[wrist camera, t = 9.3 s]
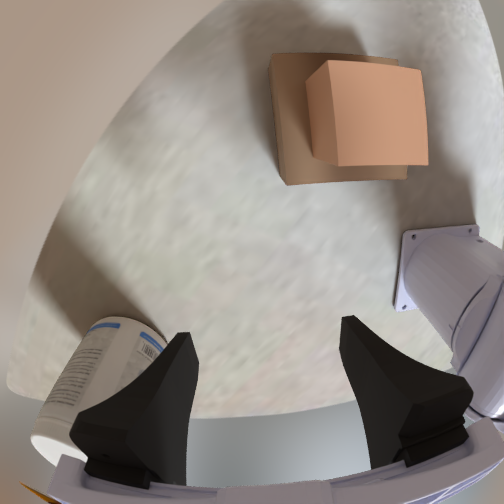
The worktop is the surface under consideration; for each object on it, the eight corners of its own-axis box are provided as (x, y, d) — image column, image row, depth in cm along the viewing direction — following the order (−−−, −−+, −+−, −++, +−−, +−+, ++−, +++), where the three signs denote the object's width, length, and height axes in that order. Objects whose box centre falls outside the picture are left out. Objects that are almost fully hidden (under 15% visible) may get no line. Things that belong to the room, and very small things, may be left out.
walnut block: (373, 70, 17) (397, 59, 13) (382, 170, 20) (407, 179, 16) (268, 69, 17) (272, 53, 13) (279, 176, 20) (286, 185, 16)
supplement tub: (94, 364, 28) (45, 465, 14) (89, 299, 24) (7, 412, 11) (172, 389, 29) (146, 505, 15) (182, 328, 25) (142, 473, 12)
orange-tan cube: (378, 83, 14) (420, 70, 9) (384, 155, 16) (428, 165, 11) (305, 81, 14) (327, 60, 9) (313, 157, 16) (338, 166, 11)
